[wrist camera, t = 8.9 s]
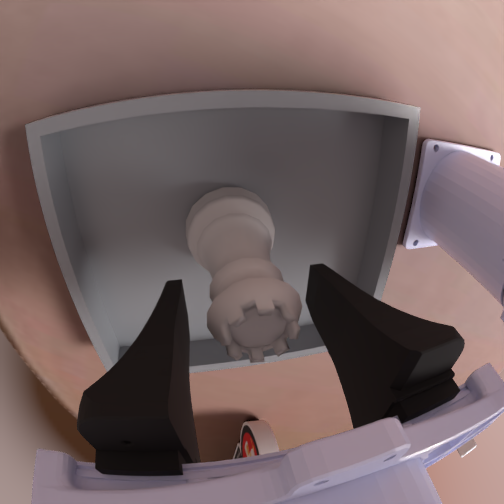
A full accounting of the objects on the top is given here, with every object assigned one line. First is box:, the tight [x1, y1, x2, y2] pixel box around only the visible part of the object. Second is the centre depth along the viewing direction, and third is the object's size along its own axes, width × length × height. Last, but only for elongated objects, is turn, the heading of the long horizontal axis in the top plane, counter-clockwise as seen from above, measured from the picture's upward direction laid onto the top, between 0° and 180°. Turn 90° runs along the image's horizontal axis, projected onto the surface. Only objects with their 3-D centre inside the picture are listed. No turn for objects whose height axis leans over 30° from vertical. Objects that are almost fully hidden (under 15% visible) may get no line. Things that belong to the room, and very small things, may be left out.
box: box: [25, 89, 420, 373], centre depth 16 cm, size 18×16×3 cm
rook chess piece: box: [186, 187, 302, 363], centre depth 13 cm, size 4×4×8 cm
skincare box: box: [457, 438, 477, 457], centre depth 45 cm, size 6×4×12 cm
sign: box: [233, 420, 279, 459], centre depth 29 cm, size 22×2×10 cm, turn 171°
